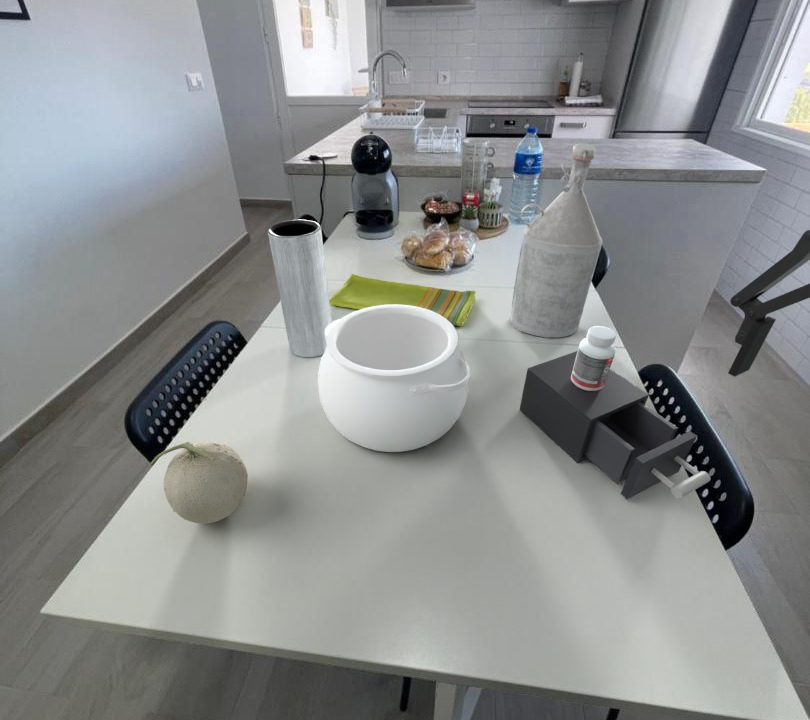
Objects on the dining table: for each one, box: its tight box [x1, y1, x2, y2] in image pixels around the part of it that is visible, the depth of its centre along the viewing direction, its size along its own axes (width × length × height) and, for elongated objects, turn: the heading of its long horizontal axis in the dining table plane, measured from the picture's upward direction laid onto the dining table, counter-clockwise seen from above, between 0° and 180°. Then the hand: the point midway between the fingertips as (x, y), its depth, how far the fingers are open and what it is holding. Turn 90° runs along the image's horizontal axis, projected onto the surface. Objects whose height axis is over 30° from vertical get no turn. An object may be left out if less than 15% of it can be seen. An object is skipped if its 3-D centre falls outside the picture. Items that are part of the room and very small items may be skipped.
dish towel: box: [329, 273, 477, 328], centre depth 116 cm, size 15×36×3 cm, turn 71°
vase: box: [267, 219, 333, 358], centre depth 93 cm, size 10×10×27 cm
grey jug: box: [509, 143, 603, 339], centre depth 96 cm, size 13×17×40 cm
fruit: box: [149, 441, 249, 524], centre depth 62 cm, size 10×12×15 cm
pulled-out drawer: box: [583, 402, 711, 500], centre depth 68 cm, size 18×11×8 cm, turn 27°
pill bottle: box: [571, 325, 617, 391], centre depth 71 cm, size 5×5×10 cm
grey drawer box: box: [519, 350, 650, 464], centre depth 77 cm, size 15×13×10 cm
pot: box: [317, 304, 471, 453], centre depth 78 cm, size 29×26×16 cm
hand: (806, 406), depth 45 cm, fingers open, 13 cm apart
